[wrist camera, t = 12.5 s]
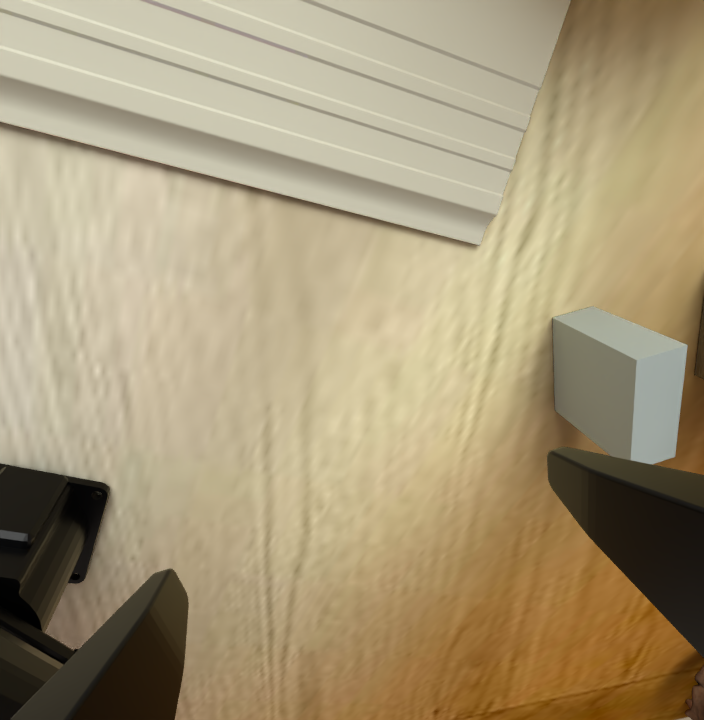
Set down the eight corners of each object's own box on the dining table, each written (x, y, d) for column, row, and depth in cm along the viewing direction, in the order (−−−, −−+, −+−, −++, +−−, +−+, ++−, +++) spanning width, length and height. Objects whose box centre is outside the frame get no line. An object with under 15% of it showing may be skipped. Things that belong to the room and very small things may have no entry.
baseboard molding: (461, 271, 23) (554, -5, 19) (488, 284, 21) (601, -33, 17) (-376, 71, 15) (-521, -491, 11) (-513, 50, 12) (-770, -702, 8)
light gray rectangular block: (554, 410, 27) (629, 471, 22) (552, 317, 24) (636, 360, 19) (591, 399, 27) (675, 456, 22) (592, 306, 25) (687, 344, 19)
